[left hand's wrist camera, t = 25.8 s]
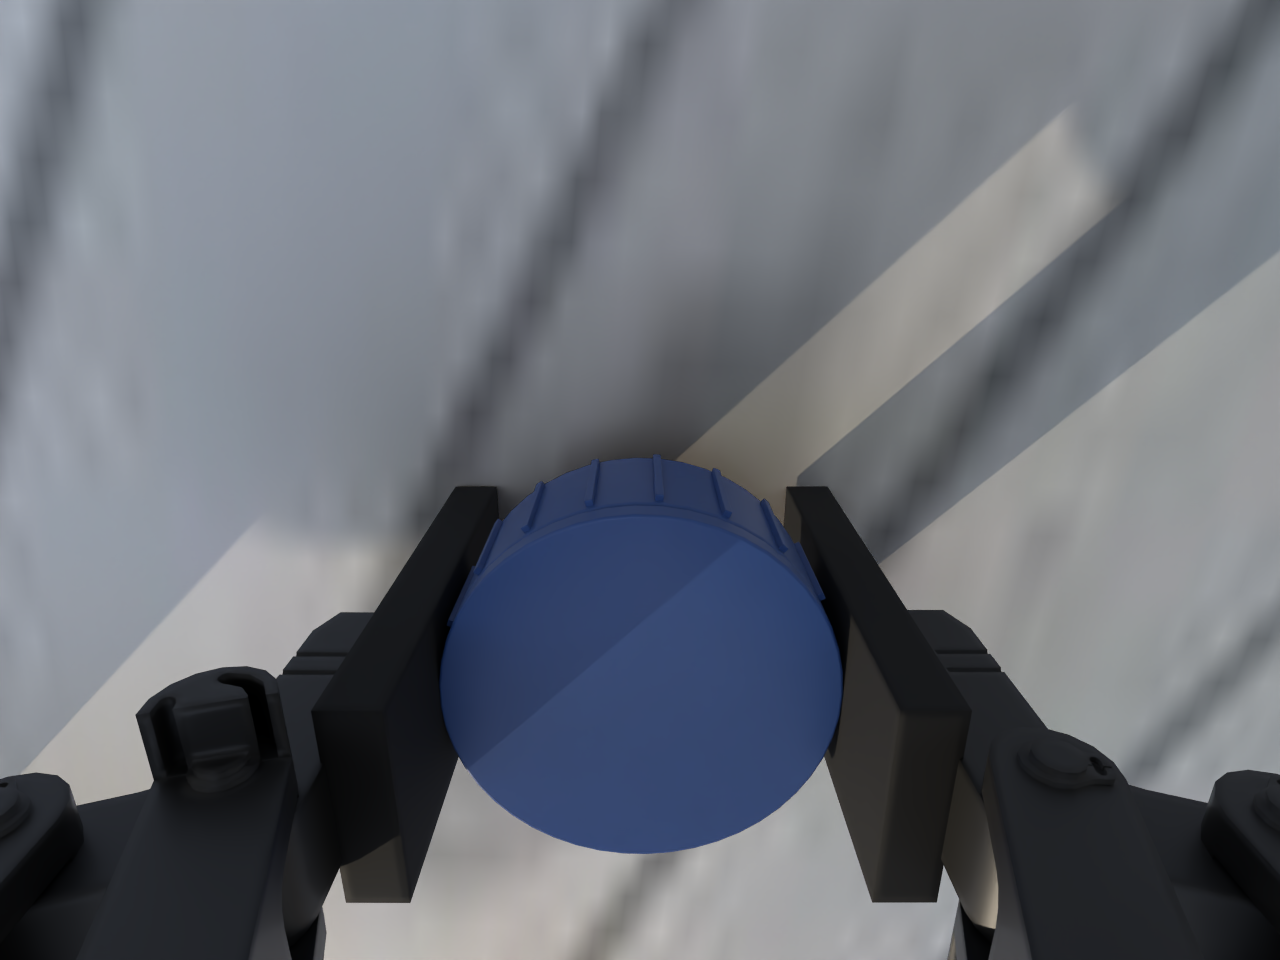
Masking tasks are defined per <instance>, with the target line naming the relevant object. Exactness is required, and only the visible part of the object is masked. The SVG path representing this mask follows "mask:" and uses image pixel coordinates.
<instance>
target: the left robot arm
mask: <svg viewBox="0 0 1280 960" xmlns="http://www.w3.org/2000/svg"><path fill="white" fill-rule="evenodd" d="M497 519H499V516H498V502H497V488H496V487H455V489H454V490H453V492H452V494H451V495H450V497H449V498H448V500H447V501H446V503H445V504H444V506H443V507H442V509H441V511H440V512H439V514H438V515H437V517H436V518H435V520H434V521H433V523H432V524H431V526H430V527H429V529H428V531H427V532H426V534H425V535H424V537H423V538H422V540H421V541H420V543H419V544H418V546H417V548H416V549H415V551H414V552H413V554H412V555H411V557H410V558H409V560H408V561H407V563H406V565H405V566H404V568H403V569H402V571H401V572H400V574H399V575H398V577H397V578H396V580H395V582H394V583H393V585H392V586H391V588H390V589H389V591H388V592H387V594H386V595H385V597H384V599H383V600H382V602H381V603H380V605H379V606H378V608H377V609H376V611H375V612H374V613H360V612H341V613H339V614H338V615H336V616H334V617H333V618H331V619H330V620H328V621H327V622H325V623H324V624H322V625H321V626H319V627H318V628H316V629H315V630H313V631H312V633H311V634H310V635H309V637H308V638H307V639H306V641H305V642H304V643H303V644H302V646H301V647H300V648H299V650H298V651H297V655H296V657H293V658H292V659H291V660H290V662H289V663H288V664H287V665H286V667H285V668H284V669H283V674H282V675H279V676H278V677H277V679H276V678H274V677H273V676H272V675H271V674H269V673H268V672H267V671H266V670H261V669H257V668H252V667H248V666H244V667H223V668H218V669H214V670H210V671H206V672H201V673H197V674H194V675H192V676H190V677H187V678H185V679H183V680H180V681H178V682H175V683H173V684H171V685H169V686H168V687H166V688H165V689H163V690H162V691H160V692H159V693H157V694H156V695H154V696H153V697H151V698H150V699H149V700H148V701H147V702H146V703H145V704H144V705H143V707H142V708H141V709H140V710H139V711H138V713H137V714H136V718H137V722H138V725H139V729H140V732H141V736H142V740H143V743H144V747H145V750H146V754H147V757H148V761H149V764H150V768H151V771H152V775H153V778H154V782H153V784H152V786H151V789H149V790H145V791H142V792H138V793H134V794H129V795H124V796H120V797H115V798H111V799H106V800H101V801H97V802H92V803H87V804H83V805H78V806H76V803H75V800H74V797H73V794H72V791H71V788H70V785H69V784H68V783H66V782H65V781H64V780H63V779H61V778H60V777H59V776H58V775H50V774H43V773H30V774H23V775H17V776H10V777H6V778H3V779H0V960H323V959H324V950H325V941H326V927H325V920H324V913H323V908H322V905H323V903H324V901H325V899H326V896H327V894H328V892H329V890H330V888H331V885H332V883H333V881H334V879H335V877H336V874H337V872H338V870H339V868H340V872H341V878H342V883H343V889H344V894H345V899H346V903H410V902H411V899H412V896H413V893H414V890H415V887H416V884H417V881H418V878H419V875H420V872H421V869H422V866H423V863H424V860H425V857H426V854H427V851H428V848H429V845H430V842H431V839H432V835H433V832H434V829H435V826H436V823H437V820H438V817H439V814H440V811H441V808H442V805H443V802H444V799H445V796H446V793H447V790H448V787H449V784H450V781H451V778H452V775H453V772H454V769H455V766H456V763H457V760H458V757H459V756H458V754H457V752H456V751H455V749H454V747H453V744H452V742H451V739H450V737H449V734H448V732H447V729H446V726H445V722H444V717H443V713H442V708H441V701H440V688H439V677H440V665H441V658H442V654H443V650H444V646H445V642H446V638H447V635H448V633H449V631H450V628H451V627H450V626H447V622H448V619H449V617H450V614H451V612H452V610H453V608H454V606H455V603H456V601H457V599H458V597H459V594H460V592H461V590H462V588H463V586H464V583H465V581H466V579H467V577H468V575H469V572H470V570H471V568H472V566H476V564H477V562H478V560H479V557H480V555H481V553H482V551H483V548H484V546H485V544H486V542H487V539H488V537H489V535H490V533H491V530H492V528H493V526H494V523H495V522H496V521H497ZM784 528H785V530H786V531H787V532H788V534H789V535H790V537H791V539H792V541H793V543H794V544H795V543H797V542H800V544H801V546H802V548H803V551H804V553H805V555H806V557H807V559H808V561H809V563H810V566H811V568H812V570H813V572H814V574H815V576H816V578H817V581H818V583H819V585H820V587H821V589H822V591H823V593H824V596H825V599H823V600H821V603H822V606H823V608H824V610H825V613H826V615H827V617H828V619H829V621H830V623H831V626H832V628H833V631H834V634H835V637H836V640H837V643H838V646H839V650H840V656H841V662H842V668H843V697H842V704H841V710H840V716H839V719H838V723H837V726H836V729H835V732H834V735H833V738H832V740H831V742H830V745H829V747H828V749H827V751H826V753H825V755H824V757H825V760H826V763H827V766H828V769H829V772H830V775H831V778H832V781H833V784H834V787H835V791H836V794H837V797H838V800H839V803H840V806H841V809H842V812H843V815H844V818H845V821H846V824H847V827H848V830H849V833H850V836H851V839H852V842H853V845H854V848H855V851H856V854H857V857H858V860H859V863H860V866H861V869H862V872H863V875H864V878H865V881H866V884H867V888H868V891H869V894H870V897H871V900H872V902H937V898H938V892H939V887H940V881H941V876H942V871H943V865H944V867H945V869H946V871H947V873H948V875H949V878H950V880H951V882H952V884H953V886H954V889H955V891H956V893H957V895H958V897H959V903H958V908H957V913H956V918H955V923H954V929H953V934H952V939H951V944H950V949H949V954H948V959H947V960H1280V775H1278V774H1273V773H1267V772H1260V771H1253V770H1244V771H1236V772H1228V773H1226V774H1225V775H1223V776H1222V777H1221V778H1220V779H1218V780H1217V781H1216V782H1215V784H1214V787H1213V790H1212V793H1211V796H1210V799H1209V802H1208V803H1205V802H1200V801H1196V800H1191V799H1186V798H1182V797H1177V796H1173V795H1168V794H1163V793H1159V792H1154V791H1149V790H1145V789H1142V788H1138V787H1135V786H1131V785H1128V783H1127V780H1126V779H1125V777H1124V776H1123V775H1122V773H1121V772H1120V770H1119V769H1118V768H1117V766H1116V765H1115V763H1114V762H1113V761H1111V760H1110V759H1109V758H1107V757H1106V756H1105V755H1104V754H1102V753H1101V752H1100V751H1098V750H1097V749H1096V748H1094V747H1093V746H1091V745H1089V744H1087V743H1085V742H1083V741H1081V740H1078V739H1076V738H1074V737H1072V736H1070V735H1067V734H1064V733H1060V732H1056V731H1053V730H1049V729H1047V727H1046V726H1045V725H1044V723H1043V722H1042V721H1041V719H1040V718H1039V717H1038V716H1037V714H1036V713H1035V712H1034V710H1033V709H1032V708H1031V706H1030V705H1029V704H1028V702H1027V701H1026V700H1025V699H1024V697H1023V696H1022V695H1021V693H1020V692H1019V691H1018V689H1017V688H1016V687H1015V686H1014V684H1013V683H1012V682H1011V680H1010V679H1009V678H1008V676H1007V675H1006V674H1005V672H1001V667H1000V666H999V665H998V663H997V662H996V661H995V659H994V658H993V657H992V656H991V654H987V649H986V648H985V646H984V645H983V644H982V642H981V641H980V640H979V639H978V637H977V636H976V635H975V633H974V632H973V631H972V629H971V628H969V627H968V626H966V625H965V624H963V623H962V622H960V621H959V620H957V619H956V618H954V617H953V616H951V615H950V614H948V613H947V612H945V611H944V610H907V609H906V607H905V606H904V604H903V603H902V601H901V600H900V598H899V597H898V595H897V594H896V592H895V590H894V589H893V587H892V586H891V584H890V583H889V581H888V580H887V578H886V577H885V575H884V573H883V572H882V570H881V569H880V567H879V566H878V564H877V563H876V561H875V560H874V558H873V556H872V555H871V553H870V552H869V550H868V549H867V547H866V546H865V544H864V543H863V541H862V539H861V538H860V536H859V535H858V533H857V532H856V530H855V529H854V527H853V526H852V524H851V522H850V521H849V519H848V518H847V516H846V515H845V513H844V512H843V510H842V509H841V507H840V505H839V504H838V502H837V501H836V499H835V498H834V496H833V495H832V493H831V492H830V490H829V488H828V487H787V491H786V504H785V518H784Z"/></svg>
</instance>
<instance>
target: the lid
mask: <svg viewBox="0 0 1280 960" xmlns="http://www.w3.org/2000/svg"><path fill="white" fill-rule="evenodd" d="M823 599H825V596H824V593H823V591H822V589H821V587H820V585H819V583H818V581H817V578H816V576H815V574H814V572H813V570H812V568H811V566H810V563H809V561H808V559H807V557H806V555H805V553H804V551H803V548H802V546H801V544H800V542H797V543H795V544H794V543H793V541H792V539H791V537H790V535H789V534H788V532H787V531H786V530H785V528H784V527H783V525H782V524H781V523H780V521H779V520H778V519H777V518H776V516H775V515H774V514H773V511H772V509H771V507H770V504H769V502H768V501H767V500H766V499H763V500H762V501H759V500H758V499H757V498H756V497H754V496H753V495H752V494H751V493H749V492H748V491H747V490H746V489H744V488H742V487H741V486H739V485H737V484H736V483H734V482H732V481H731V480H729V479H727V478H725V477H723V476H721V473H720V470H718V469H715V468H713V470H712V472H711V471H709V470H707V469H704V468H701V467H697V466H694V465H690V464H687V463H683V462H678V461H671V460H665V459H661V455H656V454H654V455H653V458H628V459H617V460H609V461H605V462H599V459H595V460H592V461H591V465H587V466H584V467H582V468H579V469H576V470H573V471H571V472H568V473H565V474H563V475H561V476H559V477H557V478H556V479H554V480H552V481H550V482H548V483H546V484H544V483H543V482H542V481H541V482H539V483H538V484H536V487H535V490H534V492H533V493H531V494H530V495H528V496H527V497H526V498H525V499H524V500H523V501H522V502H520V503H519V504H518V505H517V506H516V507H515V508H514V509H513V510H512V511H511V512H510V513H509V514H508V515H507V517H506V518H505V519H504V520H503V521H501V520H500V519H497V521H496V522H495V523H494V526H493V528H492V530H491V533H490V535H489V537H488V539H487V542H486V544H485V546H484V548H483V551H482V553H481V555H480V557H479V560H478V562H477V564H476V566H472V568H471V570H470V572H469V575H468V577H467V579H466V581H465V583H464V586H463V588H462V590H461V592H460V594H459V597H458V599H457V601H456V603H455V606H454V608H453V610H452V612H451V614H450V617H449V619H448V622H447V626H450V627H451V628H450V631H449V633H448V635H447V638H446V642H445V646H444V650H443V654H442V658H441V665H440V677H439V688H440V701H441V708H442V713H443V717H444V722H445V726H446V729H447V732H448V734H449V737H450V739H451V742H452V744H453V747H454V749H455V751H456V752H457V754H458V756H459V758H460V760H461V761H462V763H463V765H464V767H465V768H466V769H467V771H468V772H469V773H470V775H471V776H472V777H473V778H474V780H475V781H476V782H477V784H478V785H479V786H480V787H481V788H482V789H483V790H484V791H485V792H486V793H487V794H488V795H489V796H490V797H491V798H492V799H493V800H494V801H495V802H496V803H498V804H499V805H500V806H501V807H503V808H504V809H505V810H507V811H508V812H509V813H510V814H512V815H513V816H515V817H516V818H518V819H520V820H521V821H523V822H524V823H526V824H528V825H529V826H531V827H533V828H535V829H537V830H539V831H541V832H543V833H546V834H548V835H550V836H552V837H554V838H557V839H560V840H563V841H566V842H569V843H572V844H575V845H578V846H583V847H587V848H592V849H596V850H601V851H609V852H617V853H633V854H652V853H665V852H674V851H680V850H685V849H691V848H696V847H699V846H703V845H706V844H710V843H713V842H717V841H719V840H722V839H724V838H727V837H729V836H732V835H734V834H737V833H739V832H741V831H743V830H745V829H747V828H749V827H750V826H752V825H754V824H756V823H758V822H760V821H761V820H763V819H764V818H766V817H767V816H768V815H770V814H771V813H773V812H774V811H776V810H777V809H779V808H780V807H781V806H782V805H783V804H784V803H785V802H787V801H788V800H789V799H790V798H791V797H792V796H793V795H794V794H796V793H797V791H798V790H799V789H800V788H801V787H802V786H803V785H804V783H805V782H806V781H807V780H808V779H809V778H810V777H811V775H812V774H813V772H814V771H815V769H816V768H817V766H818V765H819V763H820V762H821V760H822V759H823V757H824V755H825V753H826V751H827V749H828V747H829V745H830V742H831V740H832V738H833V735H834V732H835V729H836V726H837V723H838V719H839V716H840V710H841V704H842V697H843V668H842V662H841V656H840V650H839V646H838V643H837V640H836V637H835V634H834V631H833V628H832V626H831V623H830V621H829V619H828V617H827V615H826V613H825V610H824V608H823V606H822V603H821V600H823Z"/></svg>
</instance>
